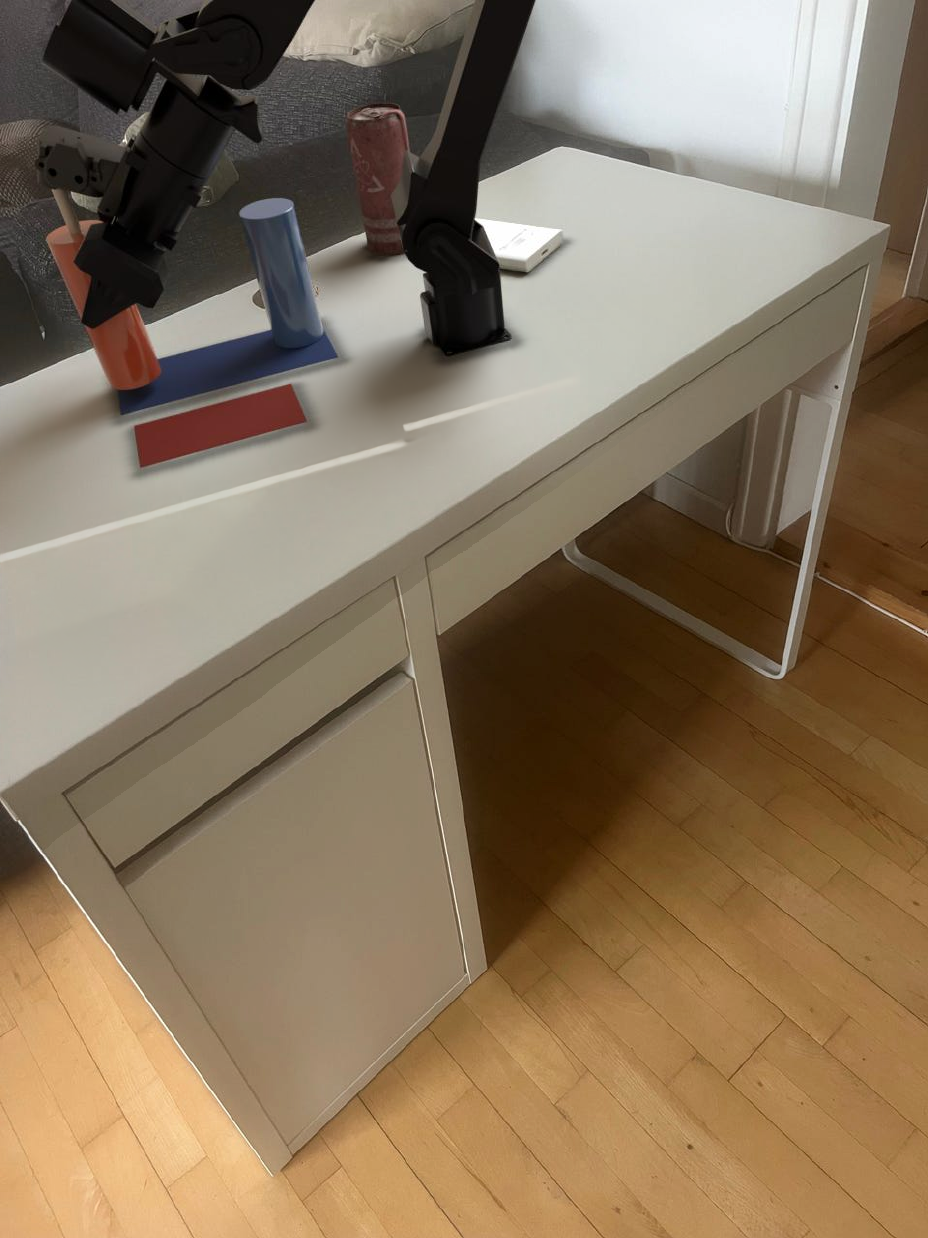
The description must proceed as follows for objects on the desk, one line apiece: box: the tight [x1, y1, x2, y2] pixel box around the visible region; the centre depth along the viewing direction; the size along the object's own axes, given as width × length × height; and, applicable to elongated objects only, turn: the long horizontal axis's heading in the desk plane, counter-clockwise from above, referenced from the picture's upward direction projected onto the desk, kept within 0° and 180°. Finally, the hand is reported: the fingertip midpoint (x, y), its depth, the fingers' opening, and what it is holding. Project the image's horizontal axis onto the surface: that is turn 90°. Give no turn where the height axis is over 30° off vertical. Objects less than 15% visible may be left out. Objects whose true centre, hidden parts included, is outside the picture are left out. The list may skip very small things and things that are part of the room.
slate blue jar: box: [238, 197, 324, 348], centre depth 82 cm, size 5×5×12 cm
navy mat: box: [117, 328, 339, 416], centre depth 84 cm, size 20×9×1 cm, turn 109°
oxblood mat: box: [133, 383, 308, 468], centre depth 77 cm, size 14×7×1 cm, turn 109°
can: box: [345, 102, 411, 257], centre depth 96 cm, size 6×6×14 cm
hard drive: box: [475, 217, 564, 273], centre depth 97 cm, size 2×8×12 cm
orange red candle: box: [45, 188, 161, 391], centre depth 76 cm, size 5×5×16 cm
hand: (91, 311), depth 77 cm, fingers closed on orange red candle, 5 cm apart
